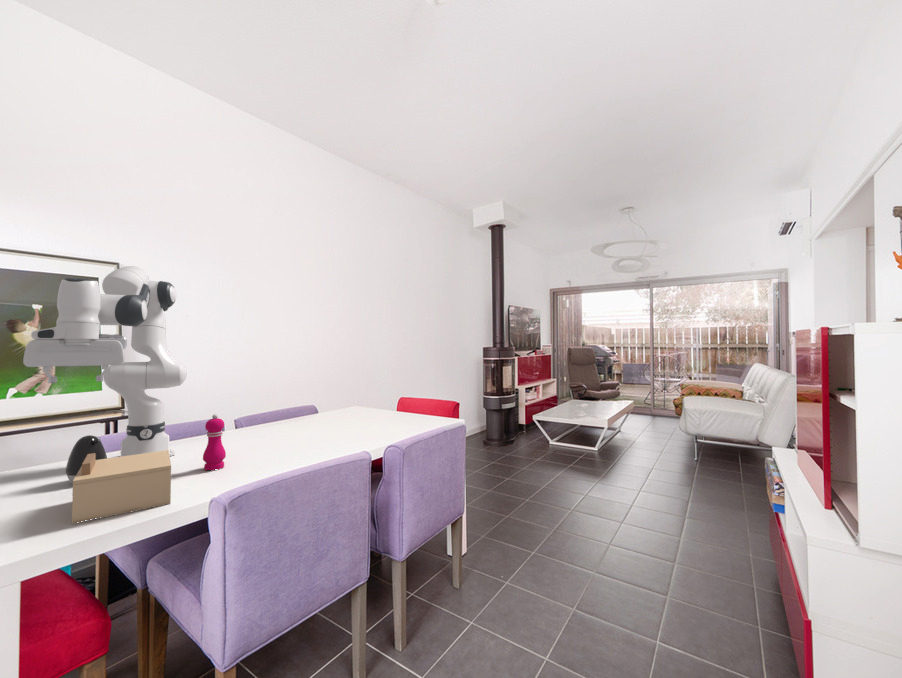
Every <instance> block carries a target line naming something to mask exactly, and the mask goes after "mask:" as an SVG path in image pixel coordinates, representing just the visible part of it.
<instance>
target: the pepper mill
mask: <svg viewBox="0 0 902 678" xmlns="http://www.w3.org/2000/svg"><path fill="white" fill-rule="evenodd" d="M211 417H212V418H210V419H208V420H207V421H206V422H205V425H204V427H205V430H206V431H207V432H206V437H207V439H208V440H207V445H206V448H205V450H204V452H203V455H202V460H203V461H204V462H205V463H204V464H203V466H204V467H203V468H204V469H205V470H204V469H203V470H204V471H206V470H213V471H216V470H215V469H218V470H221V469H223V468H225V462H224V460H225V459H226V453H227V452H226V450H225V448H224V445H223V442H222V435H223V432H224V431H223V429H224V428H225V421H224V419H222V418H220V417H219V416H218V414H217V413H214V414H213V415H212V416H211ZM220 468H221V469H220Z"/></svg>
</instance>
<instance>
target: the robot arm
mask: <svg viewBox="0 0 902 678" xmlns="http://www.w3.org/2000/svg"><path fill="white" fill-rule="evenodd" d="M149 278H150V277H149V275H148V273H147V271H145V270H144V269H143V268H141V267H138V266H135V265H127V266H123V267H122V266H121V267H120V268H117V269H114V270H113V271H111V272H109V273H108V274H107V275H106V276H105V277H104V278H103V280H102V284H101V289H102V290H103V292H104V294H102V293H101V291H100V284H99V282H98V280H96V279H92V278H82V277H81V278H79V277H66V278H63V279H62V280H60V283H59V288H58V291H57V300H56V309H57V311H58V317H57V319H56V325H55V326H54V327H49V328H42V329H38V330H33V331H32V332H31V335H30V336H31V338H32V339H31V340H30V341H29V342H27V344H26V346H25V349H24V354H23V359H22V361H23V366H25V367H27V368H36V367H37V368H40V367H42V372H43V373H44V374H45V375H46V377H47V379H48V381H47V384H58V376H53V375H52V373H51V372H50V371H52V369H53V368H52V367H85V366H86V367H87V366H89V367H90V366H95V367H96V366H101V369H102V370H103V371H102V372H101V374H99V375H96V376H95V378H96V379H95V382H96V383H97V382H104V384H105V386H107V387H108V388H109V389H111V390H113V391H114V392H116V393H118V394H119V396H120V397H122V399H124V402H125V404H126V408H127V414H128V421H127V422H128V423H127V424H128V425H126V429H125V430H126V437H125V438H124V439H122V440H121V443H120V456H119V457H122V456H129V455H136V454H143V453H151V452H158V451H165V450H169V456H170V457H173V456H175V455H176V452H175V451H173V450H172V449H170V435H169V434H168V433H166V431H165V430H166V421H164V420H165V418H164V417H165V416H164V415H165V404H164V402H163V401H162V400H160V399H158V398H156V397H153V396H149V395H148V394H146V392H145V390H149V389H150V390H151V389H168V388H174V387H178V386H181V385H182V384H183V383H184V382H185V381H186V379H187V374H188V373H187V369H186V367H185V366H184V365H183V363H181V362H179V361H178V360H176V359H175V358H174V357H173V356H172V355H171V354H170V353H169V351H168V345H167V323H166V322H167V321H166V316H165V312H167V311H168V310H169V308H171V307H172V306H173V305H174V304H175V302H176V298H177V291H176V289H175V286H174V285H173V284H172V283H171V282H169V281H163V280H160V281H155V280H150V279H149ZM101 326H122V327H131V337H130V338H131V339H130V346H131V348H132V350H133V351H135V352H137V353H138V354H141V355H144V356H147V357H148V358H150V361H149V360H148V361H128V362H127V361H125V360H126V359H125V358H126V357H125V351H124V349H126V347H127V341H128V340H127V338H126V337H125V336H122V335H120V334H118V333H117V334H109V333H101V332H100V331H101V329H100V327H101Z"/></svg>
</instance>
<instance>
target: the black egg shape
mask: <svg viewBox="0 0 902 678" xmlns="http://www.w3.org/2000/svg"><path fill="white" fill-rule="evenodd" d="M92 453H96V457H95V460H100V459H107V458H108V456H107V452H106V449H105V447H104V445H103V443H102V441H101V440H100V438H98V437H97V436H95V435H92V434H91V435H90V434H89V435H84V436H82V437H80V438H79V439H77V441H76V442H75V444H74V446H73V447H72V449H71V451H70V454H69V456H68V459H67V463H66V467H65V475H66V476H67V478H68V480H69V481H70V482H71V483H73V480H74V478H75V476H76V475H77V473H78V471H79V470H80V468H81V466H82V463H83V462H84V460H85V458H86V457H87V455H88V454H92Z"/></svg>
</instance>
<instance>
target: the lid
mask: <svg viewBox="0 0 902 678" xmlns="http://www.w3.org/2000/svg"><path fill="white" fill-rule="evenodd" d="M95 457H96V453H92V454H88V455H87V457H86V458H85V460H84V462H83V463H82V466H81V468H80V470H79V471H78V473H77V475H76V476H75V478H74V480H73V482H72V486H73V485H76V484H83V483H89V482H95V481H101V480H107V479H113V478H119V477H125V476H131V475H137V474H143V473H149V472H156V471H162V470H168V469H171V470H172V464H171V463H172V462H171V458H170V457H171V456H169V450H165V451H158V452H151V453H143V454H136V455H129V456H122V457H120V456H116V457H109V458H108V457H107V459H100V460H95Z"/></svg>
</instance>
